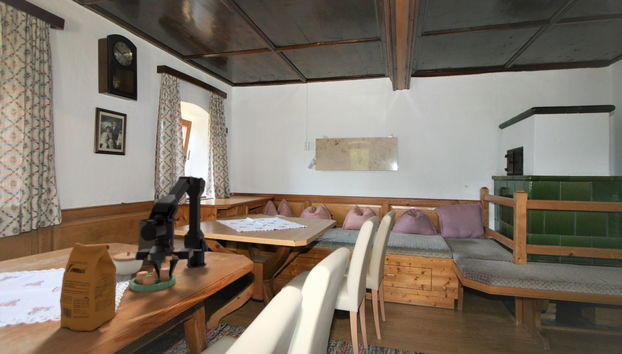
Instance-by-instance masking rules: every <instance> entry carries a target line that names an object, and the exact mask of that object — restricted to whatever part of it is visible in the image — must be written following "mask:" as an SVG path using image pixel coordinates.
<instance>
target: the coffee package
mask: <svg viewBox="0 0 622 354" xmlns="http://www.w3.org/2000/svg"><path fill="white" fill-rule="evenodd" d="M110 249H111V248H110V245H108V244H98V245H97V244H96V245H85V244H82V243H80V242H77V241H76V242H74V245H73V246H72V250H71V252H70V254H69V257H68V260H67V262H66V266H65V269H64V272H63V275H62V280H61V281H62V282H61V289H60V298H59V305H60V326H59V327H60V328H70V329H71V330H73V331H75V332H85V331H86V332H87V331H88V332H92V331H94V330H96V329H97V328H98V327H100V326H101V325H104V323H106V322H108V321H110V320H112V319H114V317H115V316H116V315H117V313H116V305H117V304H116V302H117V301H116V296H117V291H116V289H117V272H116V267H115V264H114V262H113V258H112V257H111V255H110V254H109V250H110Z"/></svg>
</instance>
